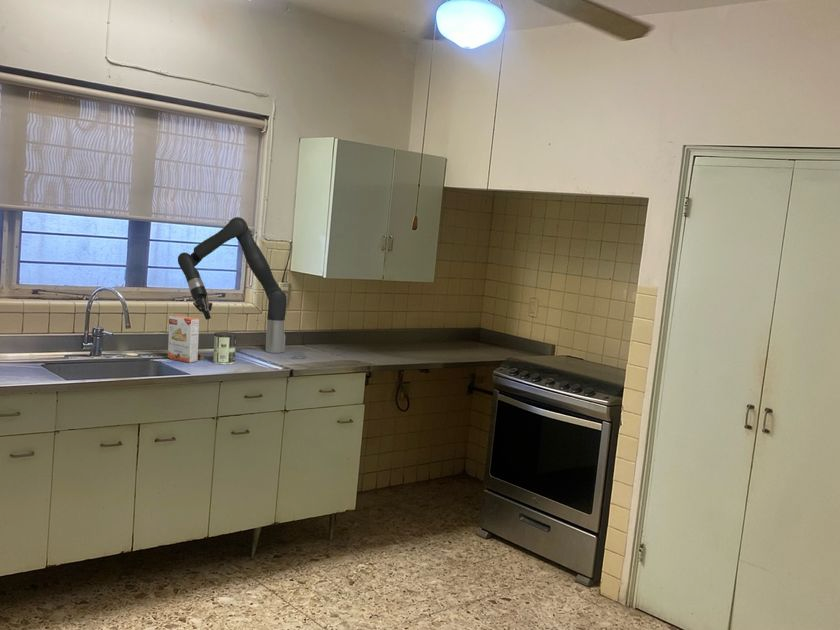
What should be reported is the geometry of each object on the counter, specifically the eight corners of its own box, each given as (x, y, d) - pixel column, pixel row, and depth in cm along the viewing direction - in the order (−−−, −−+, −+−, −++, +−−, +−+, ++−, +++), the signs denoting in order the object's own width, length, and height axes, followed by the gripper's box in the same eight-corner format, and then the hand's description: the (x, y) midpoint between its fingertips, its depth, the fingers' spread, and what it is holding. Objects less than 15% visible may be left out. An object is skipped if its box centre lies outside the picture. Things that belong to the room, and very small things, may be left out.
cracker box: (166, 359, 377) (168, 315, 375) (176, 357, 382) (177, 314, 380) (188, 363, 371) (190, 319, 368) (198, 361, 376) (199, 318, 374)
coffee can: (230, 360, 386) (231, 331, 385) (238, 364, 378) (239, 334, 376) (209, 360, 380) (211, 331, 379) (217, 364, 372) (218, 335, 370)
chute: (220, 354, 398) (220, 350, 398) (230, 358, 391) (230, 353, 391) (190, 356, 388) (191, 351, 387) (200, 360, 380) (200, 355, 380)
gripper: (194, 284, 396) (205, 314, 392) (211, 286, 408) (222, 316, 404) (183, 290, 399) (194, 321, 395) (200, 293, 411) (211, 323, 407)
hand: (208, 318), depth 399 cm, fingers closed
